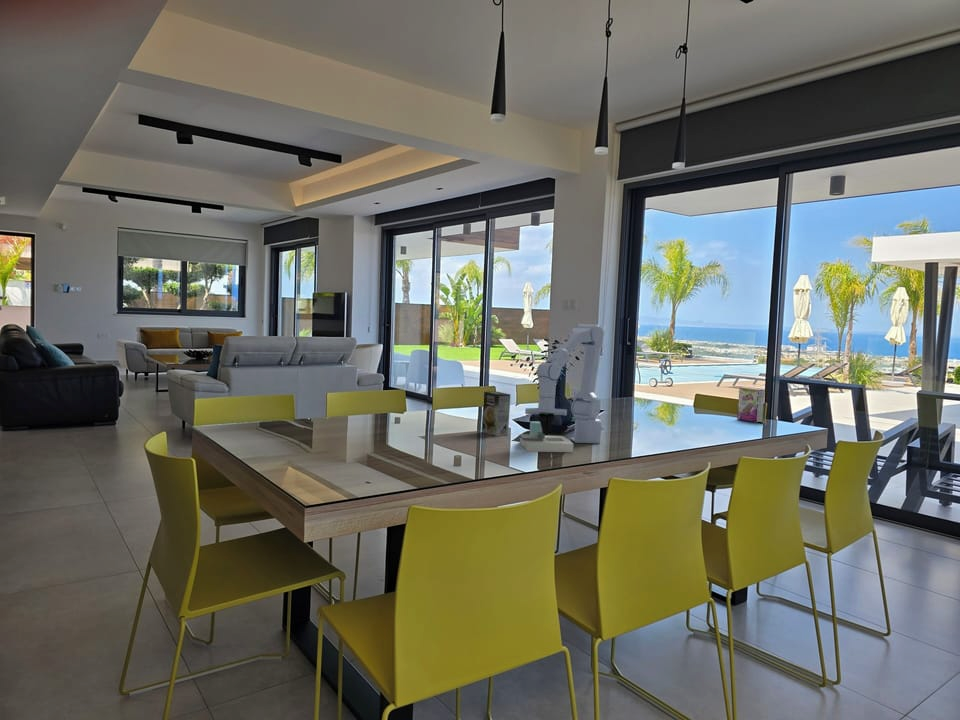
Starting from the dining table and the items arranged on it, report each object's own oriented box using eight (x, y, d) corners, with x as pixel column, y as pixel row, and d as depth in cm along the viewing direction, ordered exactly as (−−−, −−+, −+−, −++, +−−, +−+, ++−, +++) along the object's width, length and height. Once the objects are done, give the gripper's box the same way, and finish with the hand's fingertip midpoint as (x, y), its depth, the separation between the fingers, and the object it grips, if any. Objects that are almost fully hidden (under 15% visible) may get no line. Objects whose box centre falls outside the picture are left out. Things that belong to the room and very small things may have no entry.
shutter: (540, 436, 224) (540, 430, 224) (544, 440, 217) (544, 434, 217) (519, 436, 224) (519, 430, 223) (523, 440, 216) (523, 433, 216)
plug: (539, 438, 238) (540, 421, 238) (542, 440, 234) (542, 423, 234) (529, 438, 238) (530, 421, 237) (531, 440, 234) (532, 423, 233)
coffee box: (481, 432, 246) (483, 391, 245) (494, 431, 250) (496, 390, 249) (496, 436, 239) (498, 394, 238) (509, 435, 243) (511, 393, 242)
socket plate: (562, 444, 229) (563, 436, 229) (572, 452, 215) (573, 443, 215) (519, 443, 227) (520, 435, 227) (527, 451, 213) (527, 442, 213)
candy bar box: (736, 419, 313) (738, 386, 312) (743, 419, 316) (745, 386, 315) (756, 423, 303) (758, 389, 302) (762, 422, 306) (765, 389, 305)
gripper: (528, 397, 215) (526, 436, 216) (570, 398, 217) (567, 437, 218) (525, 394, 222) (523, 432, 223) (564, 396, 224) (562, 433, 225)
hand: (544, 435), depth 221 cm, fingers closed
